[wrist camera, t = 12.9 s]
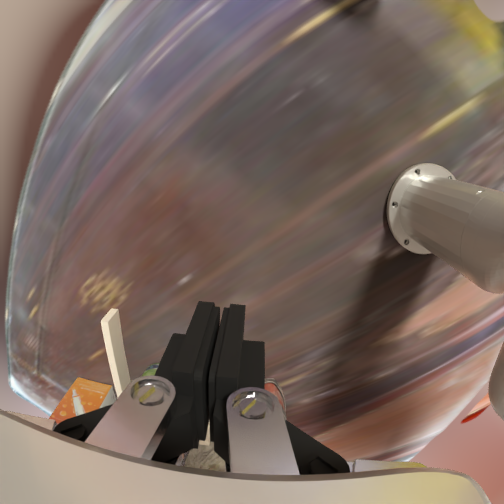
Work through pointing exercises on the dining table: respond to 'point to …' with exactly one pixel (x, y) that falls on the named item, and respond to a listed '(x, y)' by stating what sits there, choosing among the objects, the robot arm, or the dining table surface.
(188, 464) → the ceramic cottage
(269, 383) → the lighter
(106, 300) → the dining table surface
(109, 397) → the small box
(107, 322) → the box
